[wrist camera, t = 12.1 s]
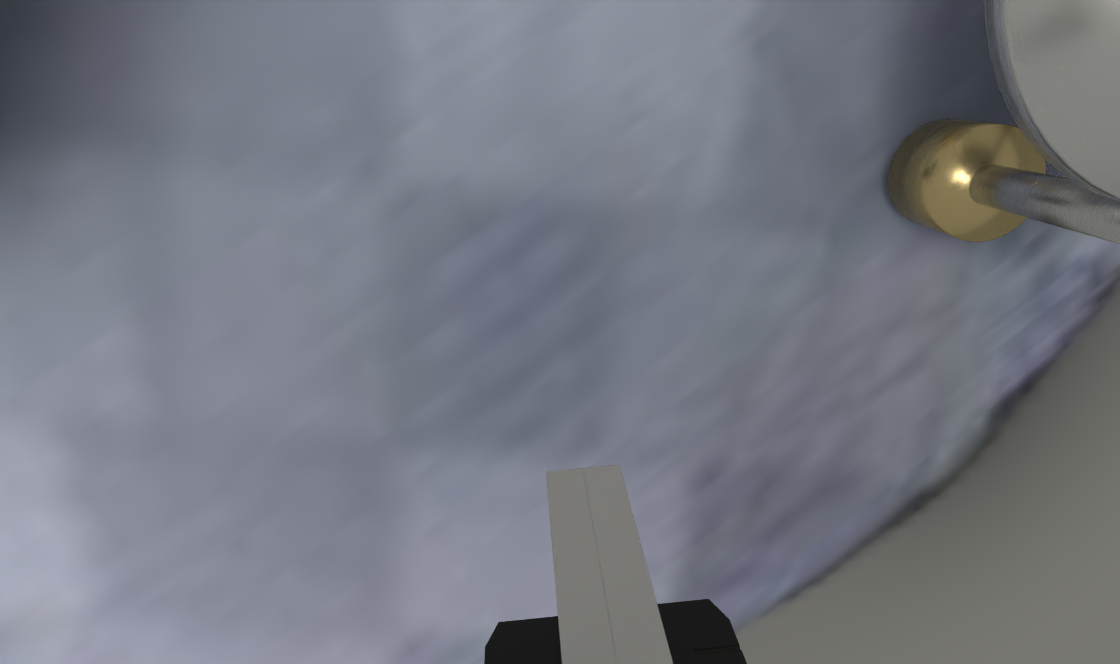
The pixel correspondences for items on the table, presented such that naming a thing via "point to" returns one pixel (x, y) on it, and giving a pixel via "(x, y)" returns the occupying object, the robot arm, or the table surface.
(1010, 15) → the tribrach stand
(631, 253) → the table surface
